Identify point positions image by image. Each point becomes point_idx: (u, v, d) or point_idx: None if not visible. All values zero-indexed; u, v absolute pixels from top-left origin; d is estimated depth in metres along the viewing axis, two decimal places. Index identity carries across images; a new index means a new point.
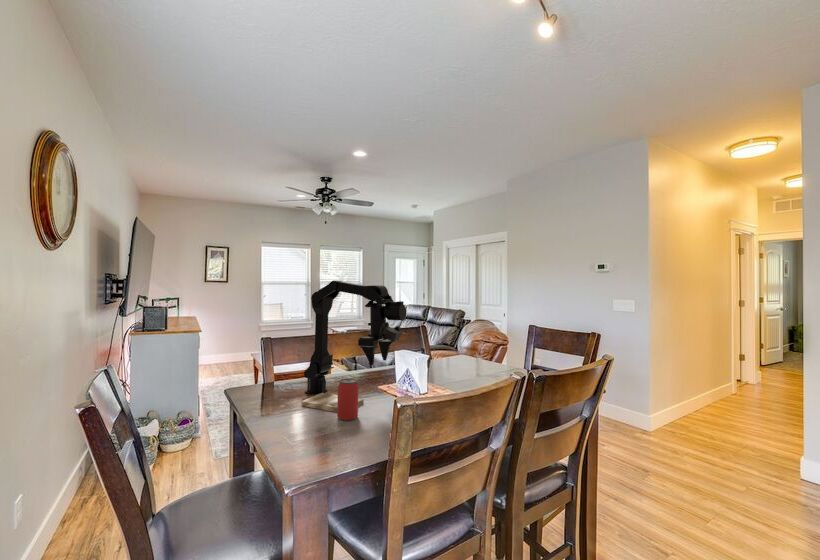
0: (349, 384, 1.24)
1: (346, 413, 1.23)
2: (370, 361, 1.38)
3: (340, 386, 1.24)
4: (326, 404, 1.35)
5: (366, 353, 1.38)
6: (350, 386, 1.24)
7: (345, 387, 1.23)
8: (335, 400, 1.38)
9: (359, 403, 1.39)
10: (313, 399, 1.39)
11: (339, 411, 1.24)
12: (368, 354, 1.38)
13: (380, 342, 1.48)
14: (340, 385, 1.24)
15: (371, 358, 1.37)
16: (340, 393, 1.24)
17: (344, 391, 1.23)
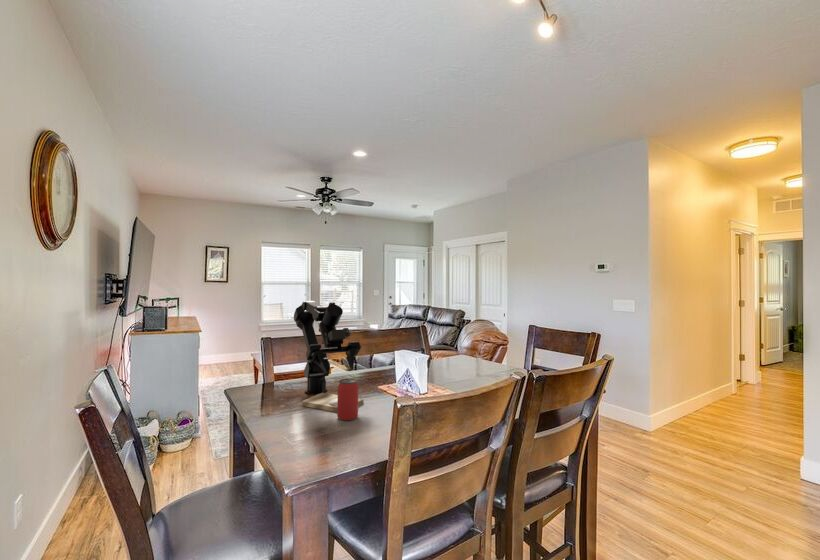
0: (349, 384, 1.24)
1: (346, 413, 1.23)
2: (324, 369, 1.32)
3: (340, 386, 1.24)
4: (326, 404, 1.35)
5: (319, 364, 1.34)
6: (350, 386, 1.24)
7: (345, 387, 1.23)
8: (335, 400, 1.38)
9: (359, 403, 1.39)
10: (313, 399, 1.39)
11: (339, 411, 1.24)
12: (320, 364, 1.33)
13: (347, 356, 1.41)
14: (340, 385, 1.24)
15: (322, 365, 1.32)
16: (340, 393, 1.24)
17: (344, 391, 1.23)
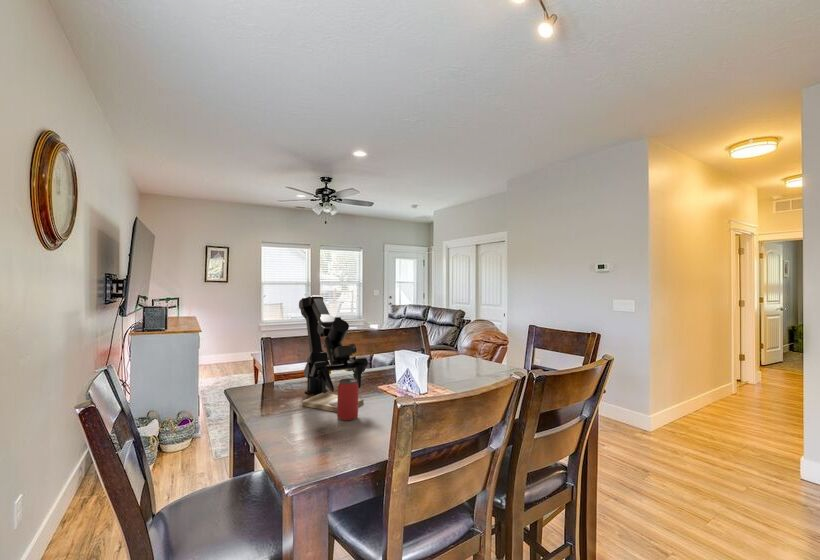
0: (349, 384, 1.24)
1: (346, 413, 1.23)
2: (330, 388, 1.26)
3: (340, 386, 1.24)
4: (326, 404, 1.35)
5: (324, 382, 1.28)
6: (350, 386, 1.24)
7: (345, 387, 1.23)
8: (335, 400, 1.38)
9: (359, 403, 1.39)
10: (313, 399, 1.39)
11: (339, 411, 1.24)
12: (326, 382, 1.27)
13: (354, 373, 1.35)
14: (340, 385, 1.24)
15: (328, 384, 1.26)
16: (340, 393, 1.24)
17: (344, 391, 1.23)
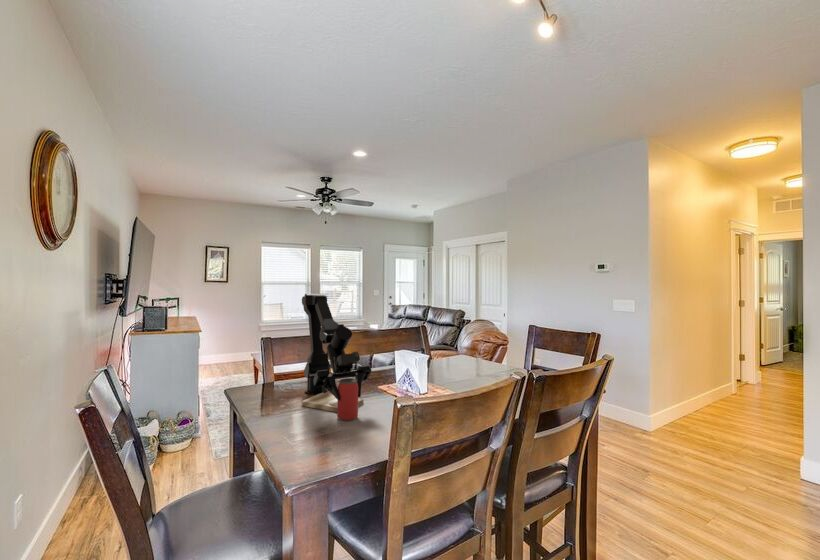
0: (349, 384, 1.24)
1: (346, 413, 1.23)
2: (336, 396, 1.24)
3: (340, 386, 1.24)
4: (326, 404, 1.35)
5: (330, 390, 1.26)
6: (350, 386, 1.24)
7: (345, 387, 1.23)
8: (335, 400, 1.38)
9: (359, 403, 1.39)
10: (313, 399, 1.39)
11: (339, 411, 1.24)
12: (332, 390, 1.25)
13: None
14: (340, 385, 1.24)
15: (334, 392, 1.24)
16: (340, 393, 1.24)
17: (344, 391, 1.23)
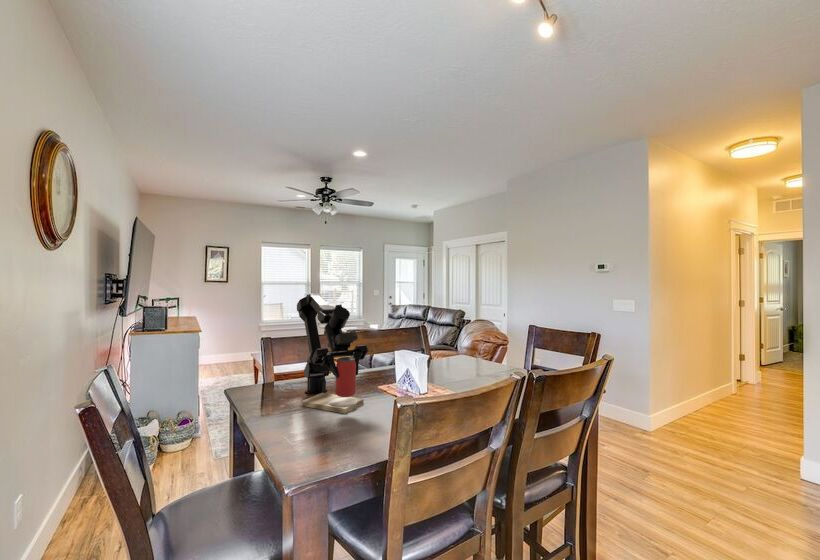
0: (347, 362, 1.28)
1: (344, 390, 1.27)
2: (334, 374, 1.28)
3: (339, 364, 1.28)
4: (326, 404, 1.35)
5: (329, 368, 1.30)
6: (348, 364, 1.28)
7: (344, 364, 1.27)
8: (335, 400, 1.38)
9: (359, 403, 1.39)
10: (313, 399, 1.39)
11: (337, 388, 1.28)
12: (330, 368, 1.29)
13: None
14: (339, 363, 1.28)
15: (333, 370, 1.28)
16: (338, 371, 1.28)
17: (343, 369, 1.27)
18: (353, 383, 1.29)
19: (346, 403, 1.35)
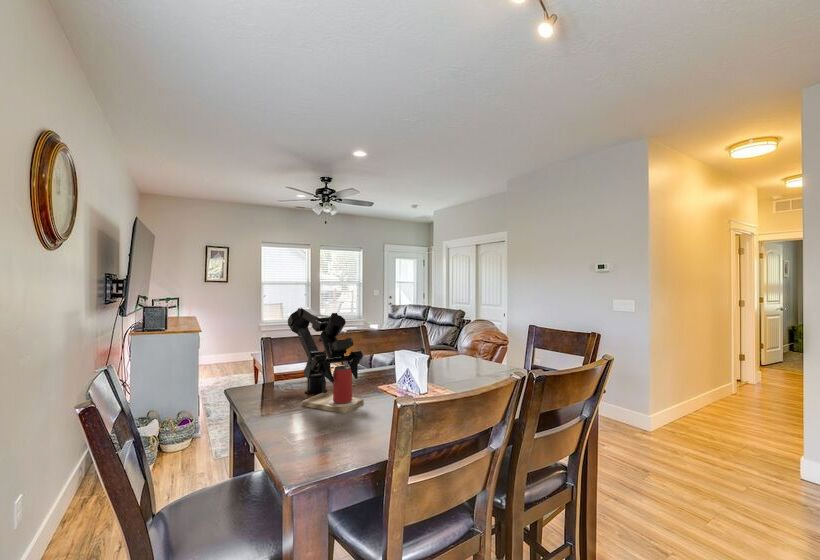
0: (344, 370, 1.35)
1: (342, 397, 1.34)
2: (330, 379, 1.34)
3: (336, 372, 1.35)
4: (326, 404, 1.35)
5: (324, 374, 1.35)
6: (345, 372, 1.35)
7: (341, 373, 1.34)
8: None
9: (359, 403, 1.39)
10: (313, 399, 1.39)
11: (335, 395, 1.35)
12: (325, 374, 1.35)
13: None
14: (336, 372, 1.35)
15: (328, 375, 1.34)
16: (336, 379, 1.34)
17: (340, 377, 1.34)
18: (350, 390, 1.36)
19: (346, 403, 1.35)
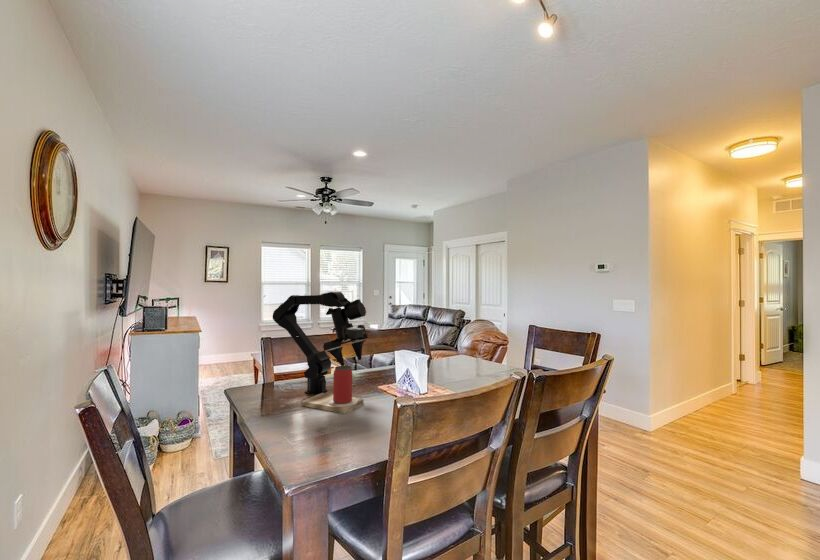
0: (345, 370, 1.35)
1: (342, 397, 1.34)
2: (340, 362, 1.45)
3: (336, 372, 1.35)
4: (326, 404, 1.35)
5: (335, 356, 1.46)
6: (346, 372, 1.35)
7: (341, 373, 1.34)
8: None
9: (359, 403, 1.39)
10: (313, 399, 1.39)
11: (335, 395, 1.35)
12: (336, 356, 1.45)
13: (353, 344, 1.55)
14: (336, 372, 1.35)
15: (340, 359, 1.45)
16: (336, 379, 1.34)
17: (340, 377, 1.34)
18: (350, 390, 1.36)
19: None
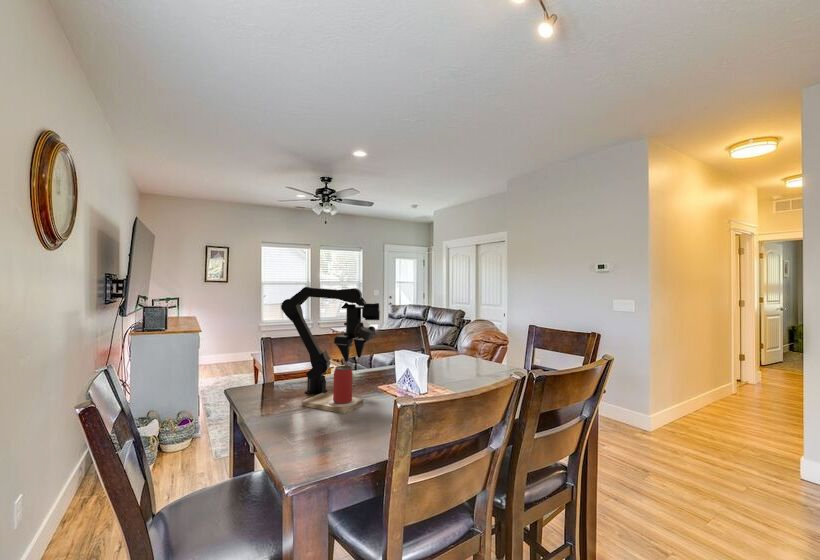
0: (345, 370, 1.35)
1: (342, 397, 1.34)
2: (345, 358, 1.50)
3: (336, 372, 1.35)
4: (326, 404, 1.35)
5: (341, 350, 1.50)
6: (346, 372, 1.35)
7: (341, 373, 1.34)
8: None
9: (359, 403, 1.39)
10: (313, 399, 1.39)
11: (335, 395, 1.35)
12: (343, 351, 1.50)
13: (355, 340, 1.60)
14: (336, 371, 1.35)
15: (346, 355, 1.50)
16: (336, 379, 1.35)
17: (340, 377, 1.34)
18: (350, 390, 1.36)
19: None
